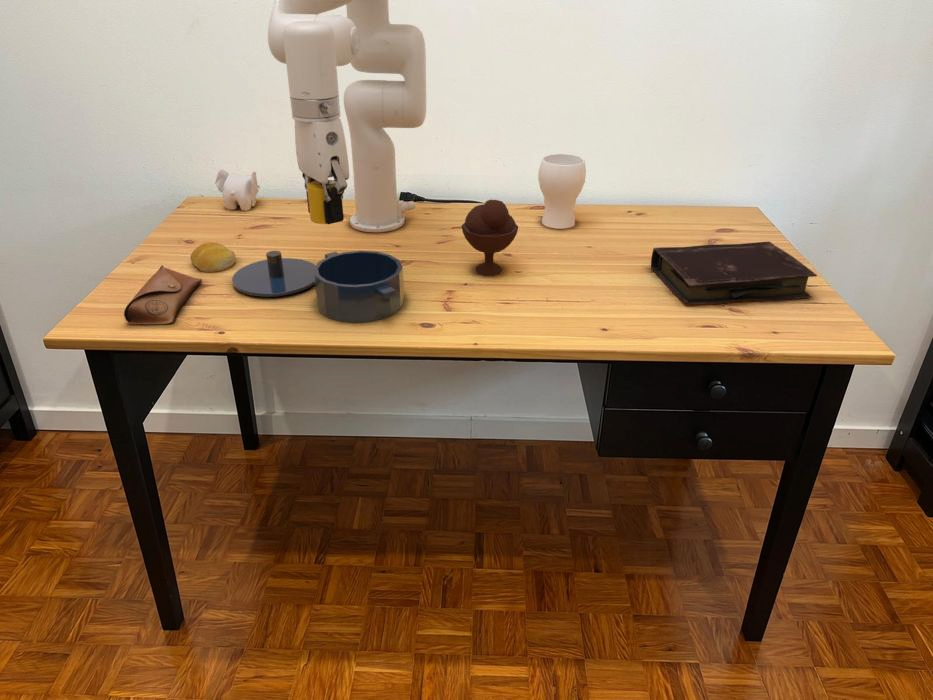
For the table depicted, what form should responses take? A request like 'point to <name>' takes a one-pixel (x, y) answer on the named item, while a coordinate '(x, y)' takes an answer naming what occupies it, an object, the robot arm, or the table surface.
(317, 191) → the yellow cylinder with peg
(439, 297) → the table surface
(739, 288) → the diary
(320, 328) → the table surface
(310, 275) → the lid
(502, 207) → the ice cream bowl
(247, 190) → the elephant figurine
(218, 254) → the bread roll
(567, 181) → the cup
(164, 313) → the sunglasses case
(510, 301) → the table surface
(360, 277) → the pan
